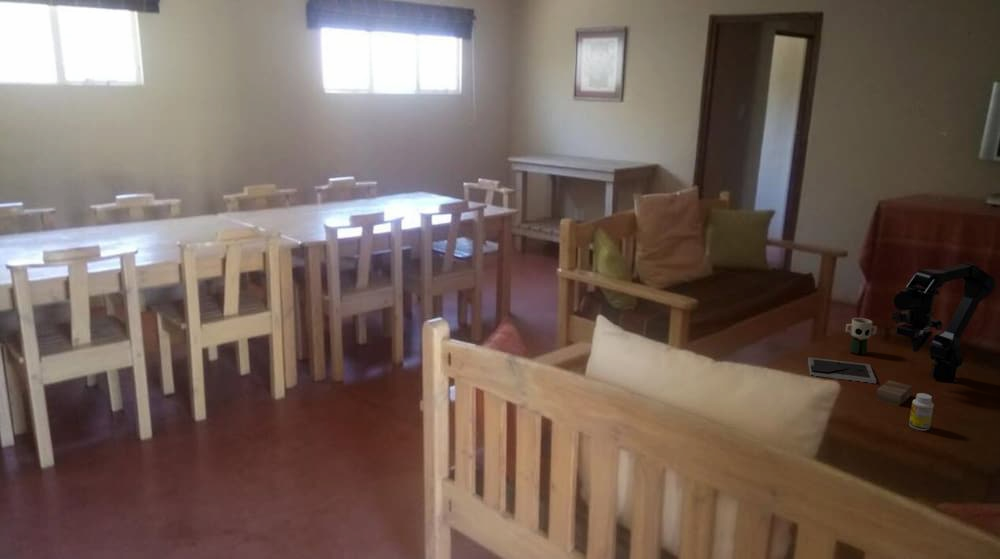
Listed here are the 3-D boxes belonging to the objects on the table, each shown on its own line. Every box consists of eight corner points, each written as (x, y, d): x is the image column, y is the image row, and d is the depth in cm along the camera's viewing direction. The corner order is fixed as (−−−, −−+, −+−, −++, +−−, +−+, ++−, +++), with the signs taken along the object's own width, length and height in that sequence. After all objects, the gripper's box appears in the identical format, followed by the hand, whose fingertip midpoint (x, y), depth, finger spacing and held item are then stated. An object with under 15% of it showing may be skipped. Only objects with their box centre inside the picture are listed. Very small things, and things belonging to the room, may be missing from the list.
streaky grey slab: (889, 380, 248) (877, 389, 240) (911, 386, 243) (900, 395, 235) (887, 391, 249) (875, 400, 241) (909, 397, 244) (898, 407, 236)
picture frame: (810, 377, 260) (875, 385, 254) (811, 370, 259) (876, 378, 253) (807, 362, 275) (868, 369, 268) (808, 355, 274) (870, 362, 268)
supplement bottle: (910, 421, 225) (916, 390, 223) (931, 426, 222) (936, 395, 219) (906, 427, 221) (911, 396, 219) (927, 433, 218) (933, 401, 215)
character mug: (844, 354, 281) (849, 322, 278) (840, 348, 288) (844, 316, 285) (875, 357, 279) (880, 324, 276) (870, 350, 286) (875, 318, 283)
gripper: (913, 297, 258) (906, 339, 262) (883, 305, 249) (877, 349, 253) (946, 305, 249) (939, 349, 253) (916, 314, 240) (909, 359, 244)
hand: (915, 351), depth 251 cm, fingers closed
